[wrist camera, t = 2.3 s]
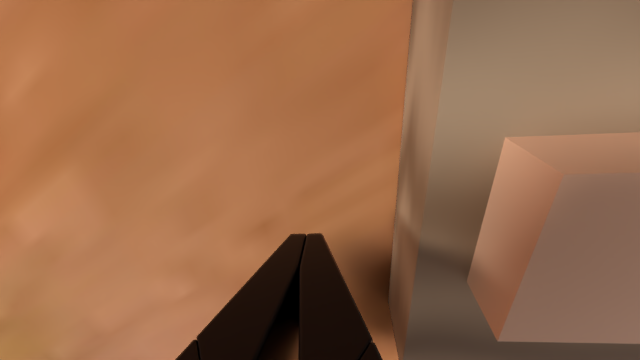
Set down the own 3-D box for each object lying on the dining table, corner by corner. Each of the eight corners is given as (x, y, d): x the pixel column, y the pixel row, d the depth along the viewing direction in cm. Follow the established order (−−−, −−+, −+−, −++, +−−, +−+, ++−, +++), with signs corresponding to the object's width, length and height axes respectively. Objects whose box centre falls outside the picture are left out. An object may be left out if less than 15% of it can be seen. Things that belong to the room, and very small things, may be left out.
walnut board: (672, 303, 14) (768, 382, 11) (388, 301, 15) (401, 372, 12) (1051, -167, 6) (1728, -353, 3) (421, -101, 7) (480, -194, 4)
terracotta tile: (630, 281, 9) (704, 345, 7) (466, 281, 9) (497, 341, 7) (732, 128, 6) (881, 166, 5) (505, 137, 7) (564, 174, 5)
